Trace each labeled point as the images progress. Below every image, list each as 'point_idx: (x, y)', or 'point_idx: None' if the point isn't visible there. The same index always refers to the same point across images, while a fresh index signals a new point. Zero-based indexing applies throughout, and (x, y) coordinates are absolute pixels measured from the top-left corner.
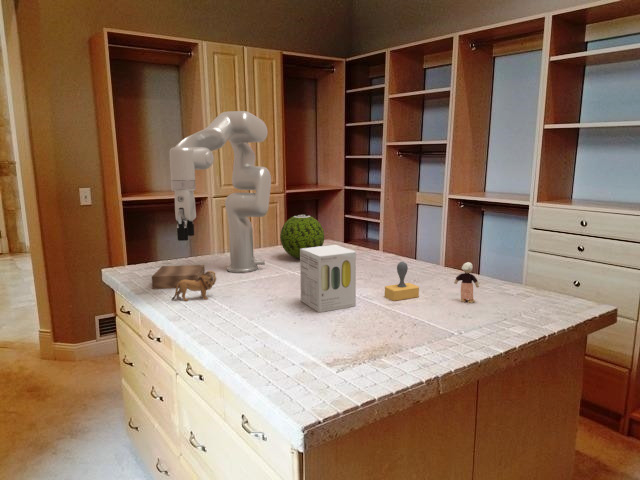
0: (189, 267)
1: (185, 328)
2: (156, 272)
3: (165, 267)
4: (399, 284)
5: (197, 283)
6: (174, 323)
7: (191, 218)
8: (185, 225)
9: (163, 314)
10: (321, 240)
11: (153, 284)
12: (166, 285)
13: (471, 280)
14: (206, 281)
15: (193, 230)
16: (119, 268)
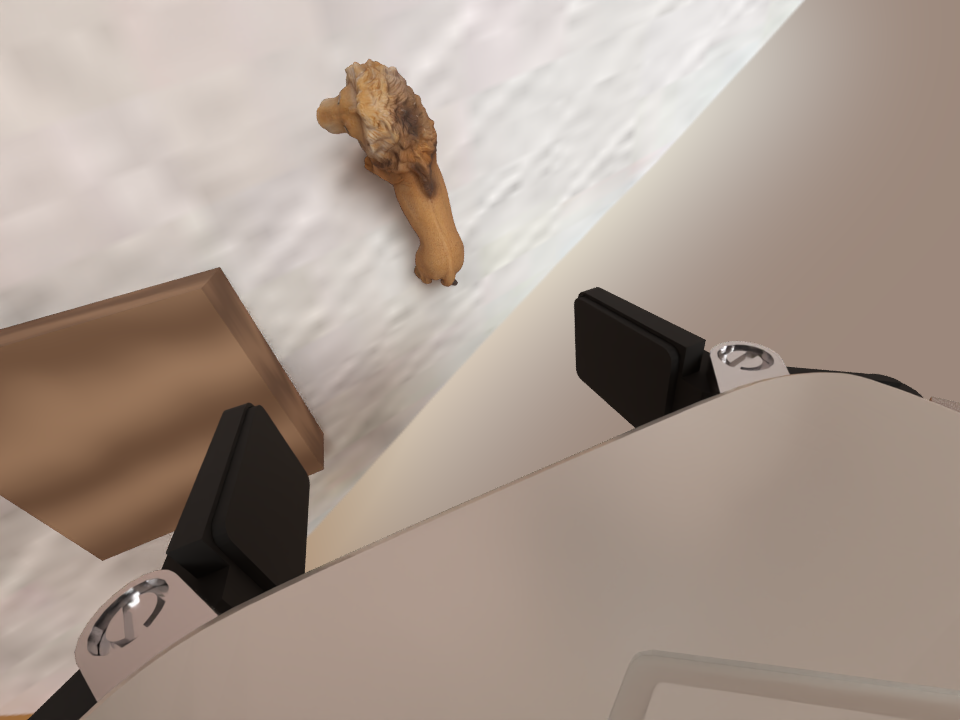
0: (28, 434)
1: (703, 92)
2: None
3: (123, 531)
4: None
5: (442, 177)
6: (658, 154)
7: (834, 398)
8: (781, 360)
9: (581, 236)
10: None
11: (321, 442)
12: (296, 400)
13: None
14: (429, 119)
15: (233, 447)
16: None
